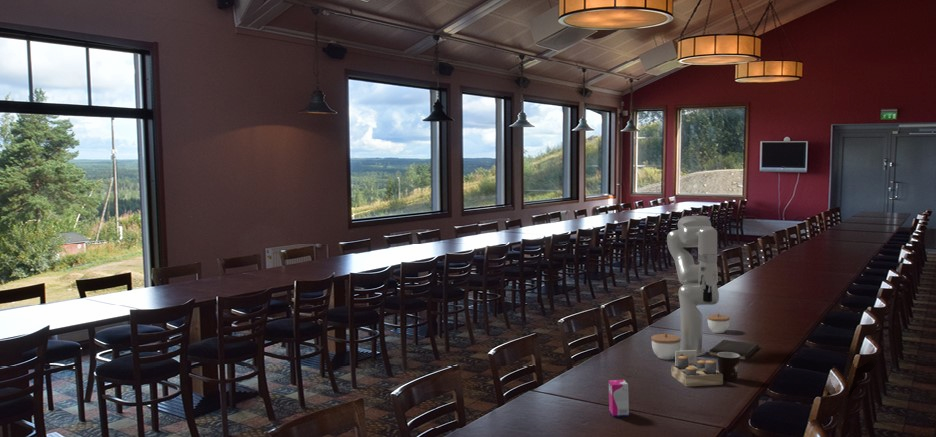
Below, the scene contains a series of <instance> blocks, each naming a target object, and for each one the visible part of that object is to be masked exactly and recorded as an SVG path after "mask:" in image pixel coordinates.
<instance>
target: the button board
mask: <svg viewBox="0 0 936 437" xmlns="http://www.w3.org/2000/svg"><path fill="white" fill-rule="evenodd" d="M670 367H671V368H670V369H671V370H670V371H671V372H670V374H671V376H672V377H673V378H674V379H676V381H678V382H680V383H681V385H684V386H685V387H699V386H701V387H703V386H718V385H719V386H720V385H723V384H724V381H723V374H721V373H720V372H719V370H717V369H716V374H709V375H707V374H705V368H703V369H698V368H697V367H696V364H691V365H688V367H694V368H696V375H691V376H687V375H686V374H685V369H684V370H679V369H678V368H677V365H675V364H674V365H671V366H670Z"/></svg>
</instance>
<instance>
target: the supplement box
mask: <svg viewBox="0 0 936 437" xmlns="http://www.w3.org/2000/svg"><path fill="white" fill-rule="evenodd" d="M629 403H630V402H629V383H628V382H627V381H626V380H625V379H611V380H610V379H609V380H608V411H609V413H610V414H611V416H612V418H616V417H617V418H618V417H619V418H620V417H621V418H622V417H629V415H630V411H629V410H630V406H629Z"/></svg>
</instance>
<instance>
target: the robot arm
mask: <svg viewBox="0 0 936 437" xmlns="http://www.w3.org/2000/svg"><path fill="white" fill-rule="evenodd" d="M677 228H678V229H675V230H674V229H673V230H671V231H670V232H668V234H667V235H666V236H667V237H666V243H667V249H668V252H669V253H670V255H671V256H672V258H673V260H674V264H675V268H676V273H677V278H678V282H679V283H680V284H681V286H680V287H679V289H678V291H677V292H678V294H677V295H678V301H679V307H680V308H679V309H680V339H681V340H680V349H679V351H688V350H697V357H701V356H704V355H706V354H707V350H706V349H704V348H703V314H702V312H701V311H700V309H699V308H698V307H697V306H713V305H714V306H715V305H717V304H718V303H719V300H720V293H719V289H718V285H717V284H718V283H719V276H718V275H719V272H718V263H717V262H718V231H717V229H715V227H713V226H712V222H711V220H710V218H709V217H708V216H705V215H685V216H682V217H680V219H679V220H678V222H677ZM685 248H697V262H698V264H695V261H694V257H693V255H692V254H691V253H690V252H689V251H687V249H685Z"/></svg>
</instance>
